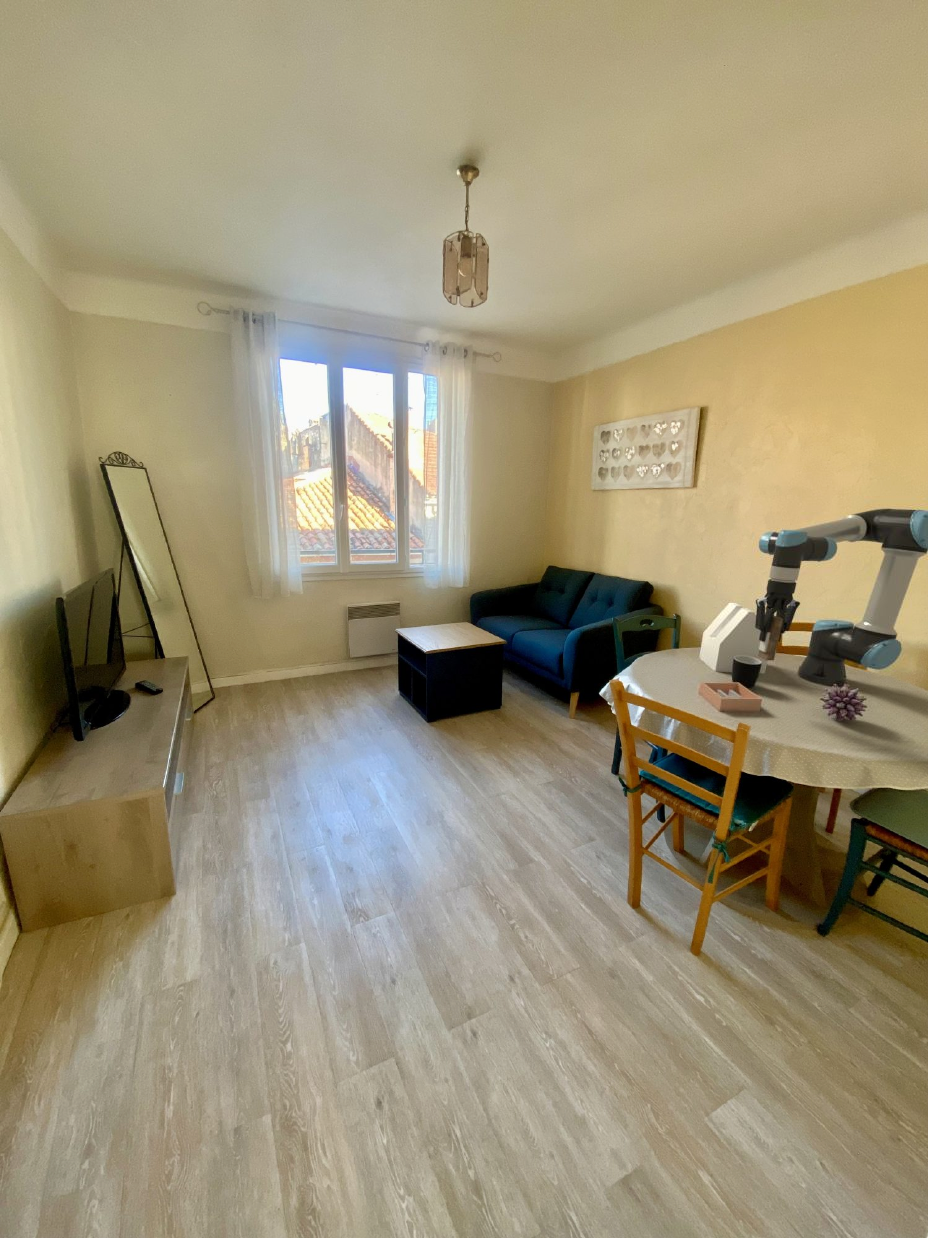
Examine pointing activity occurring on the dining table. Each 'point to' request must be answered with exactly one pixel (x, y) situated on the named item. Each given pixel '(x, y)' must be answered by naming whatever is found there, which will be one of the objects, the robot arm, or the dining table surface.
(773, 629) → the brown tall bar
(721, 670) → the white house-shaped block
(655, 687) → the dining table surface
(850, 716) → the purple spiky ball
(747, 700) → the pink shallow tray
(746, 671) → the mug
